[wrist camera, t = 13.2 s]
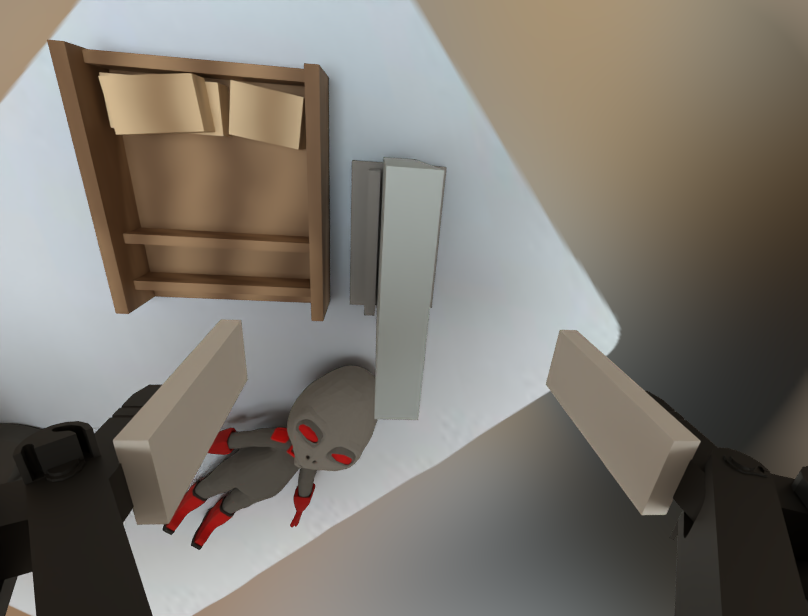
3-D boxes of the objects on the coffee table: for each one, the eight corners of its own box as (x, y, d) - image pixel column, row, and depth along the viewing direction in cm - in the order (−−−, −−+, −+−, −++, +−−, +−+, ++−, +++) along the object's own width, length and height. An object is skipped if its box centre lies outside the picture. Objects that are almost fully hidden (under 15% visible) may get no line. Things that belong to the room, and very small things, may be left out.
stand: (430, 303, 38) (436, 323, 34) (350, 300, 37) (346, 319, 33) (444, 167, 33) (453, 169, 29) (352, 160, 32) (348, 162, 28)
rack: (149, 292, 36) (116, 313, 31) (100, 56, 28) (46, 39, 24) (330, 299, 37) (323, 321, 33) (328, 77, 30) (319, 64, 25)
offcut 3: (242, 135, 30) (228, 134, 27) (244, 86, 29) (230, 79, 26) (305, 149, 31) (298, 149, 28) (310, 102, 29) (303, 97, 27)
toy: (117, 509, 41) (291, 378, 29) (171, 439, 49) (323, 315, 37) (236, 573, 46) (424, 484, 34) (267, 500, 54) (426, 408, 42)
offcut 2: (127, 128, 29) (111, 127, 28) (117, 77, 28) (99, 72, 26) (232, 136, 30) (223, 136, 28) (227, 86, 29) (217, 82, 27)
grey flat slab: (383, 157, 31) (386, 165, 17) (414, 159, 32) (444, 170, 17) (376, 310, 37) (374, 419, 22) (403, 311, 37) (418, 419, 22)
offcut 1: (133, 135, 28) (116, 134, 26) (117, 80, 26) (98, 75, 25) (215, 132, 28) (204, 131, 26) (204, 78, 27) (191, 73, 25)
